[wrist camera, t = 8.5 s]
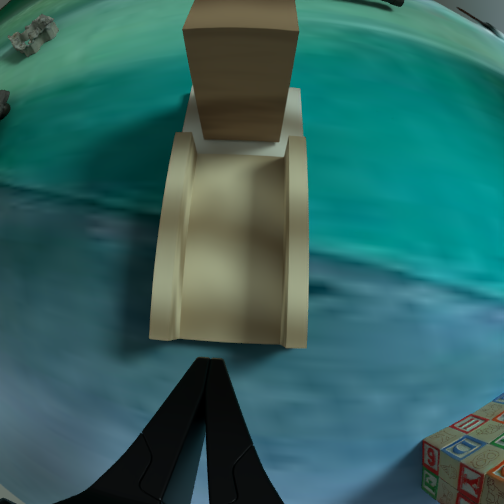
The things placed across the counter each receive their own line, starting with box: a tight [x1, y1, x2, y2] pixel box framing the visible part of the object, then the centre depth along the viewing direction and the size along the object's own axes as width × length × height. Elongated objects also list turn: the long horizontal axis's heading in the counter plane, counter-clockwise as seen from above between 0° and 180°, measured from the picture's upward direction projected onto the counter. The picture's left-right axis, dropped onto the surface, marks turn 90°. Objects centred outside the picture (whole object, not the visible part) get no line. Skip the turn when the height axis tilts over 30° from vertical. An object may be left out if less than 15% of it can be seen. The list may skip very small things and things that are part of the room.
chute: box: [149, 85, 309, 348], centre depth 21 cm, size 22×10×4 cm, turn 177°
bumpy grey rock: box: [8, 14, 59, 57], centre depth 28 cm, size 11×8×4 cm
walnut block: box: [182, 0, 299, 142], centre depth 18 cm, size 6×6×11 cm
